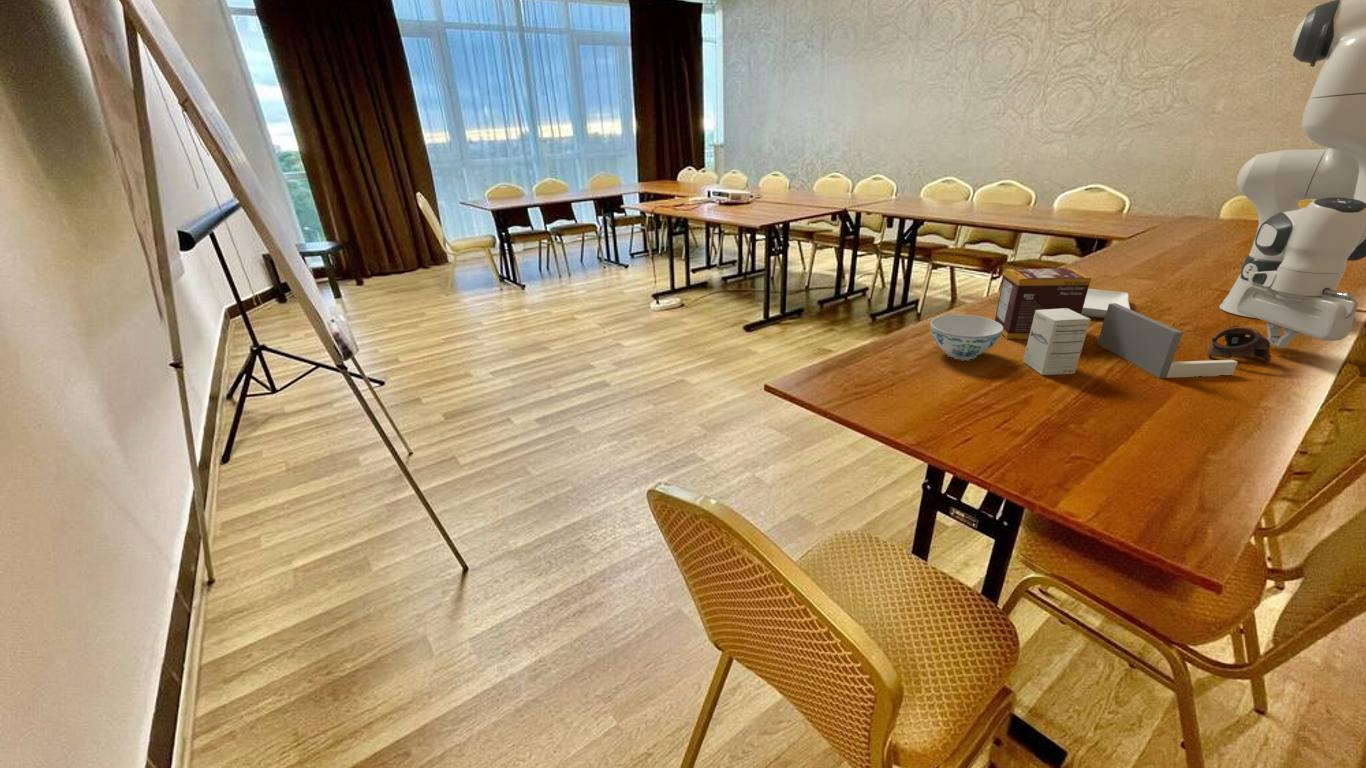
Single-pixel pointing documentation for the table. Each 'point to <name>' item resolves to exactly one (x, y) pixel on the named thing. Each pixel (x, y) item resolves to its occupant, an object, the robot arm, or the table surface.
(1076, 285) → the supplement box
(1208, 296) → the table surface
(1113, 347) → the display stand
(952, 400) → the table surface
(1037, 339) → the supplement box
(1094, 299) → the salad plate
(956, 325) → the chinaware
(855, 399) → the table surface
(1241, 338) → the pottery mug
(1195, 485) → the table surface
